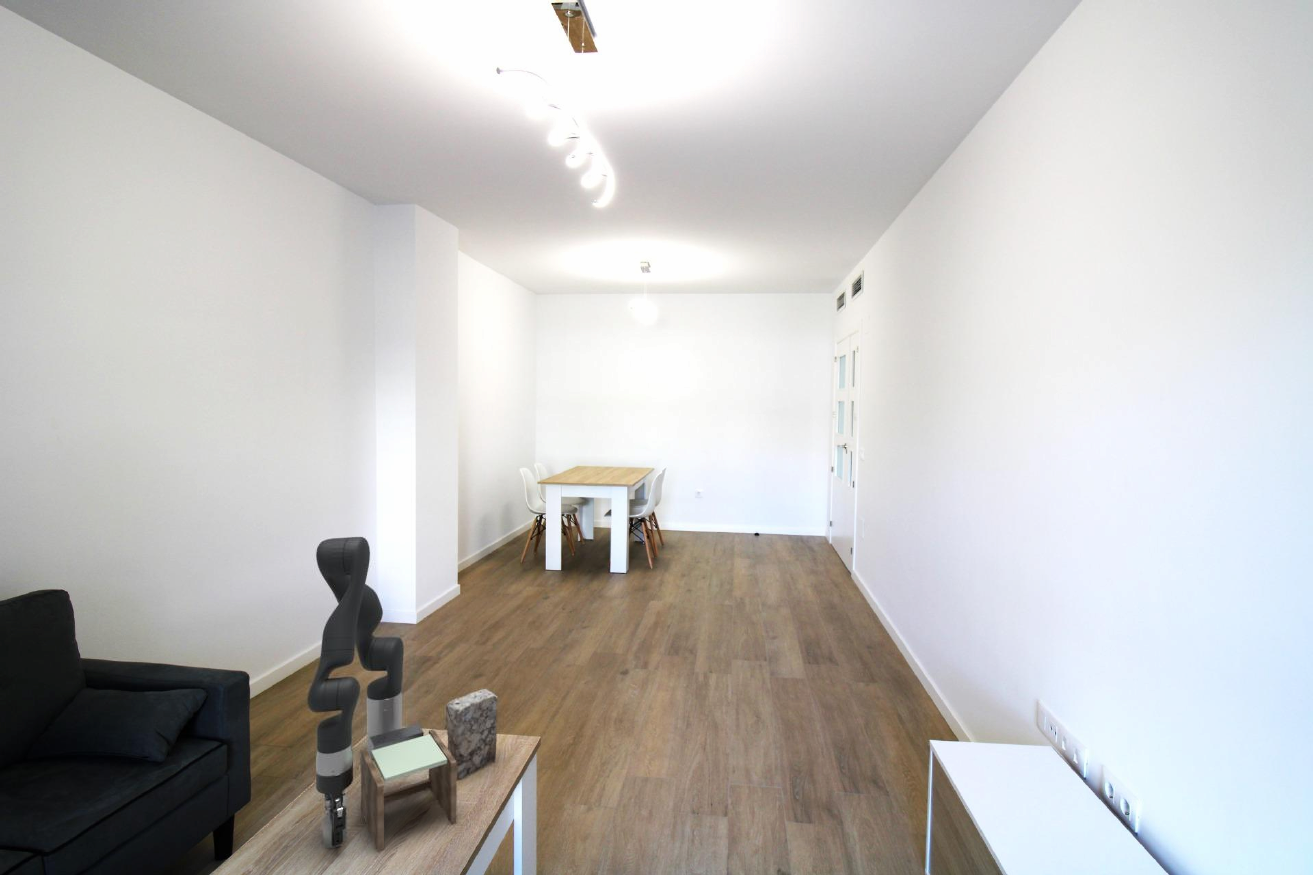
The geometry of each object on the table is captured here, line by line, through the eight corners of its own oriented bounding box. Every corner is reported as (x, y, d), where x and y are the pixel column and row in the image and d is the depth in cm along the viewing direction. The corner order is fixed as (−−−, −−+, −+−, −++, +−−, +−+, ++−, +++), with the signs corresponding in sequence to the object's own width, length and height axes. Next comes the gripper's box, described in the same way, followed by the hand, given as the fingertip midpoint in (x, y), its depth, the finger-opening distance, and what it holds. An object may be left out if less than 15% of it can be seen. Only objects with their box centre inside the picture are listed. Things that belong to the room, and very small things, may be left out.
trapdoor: (365, 749, 159) (365, 738, 159) (422, 733, 167) (422, 722, 167) (384, 791, 142) (384, 778, 142) (447, 771, 150) (447, 759, 150)
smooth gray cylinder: (321, 838, 144) (320, 815, 144) (345, 830, 147) (344, 807, 147) (324, 851, 140) (324, 827, 140) (349, 842, 143) (349, 818, 143)
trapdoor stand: (361, 808, 155) (360, 749, 154) (433, 784, 165) (433, 729, 165) (378, 851, 140) (377, 786, 139) (456, 822, 150) (456, 761, 150)
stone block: (460, 783, 166) (460, 709, 165) (444, 774, 170) (444, 702, 169) (499, 760, 177) (499, 691, 176) (483, 752, 181) (483, 685, 180)
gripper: (311, 755, 146) (312, 826, 147) (321, 786, 135) (321, 862, 135) (346, 746, 151) (347, 814, 151) (359, 774, 139) (359, 848, 140)
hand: (335, 836), depth 143 cm, fingers closed on smooth gray cylinder, 5 cm apart
